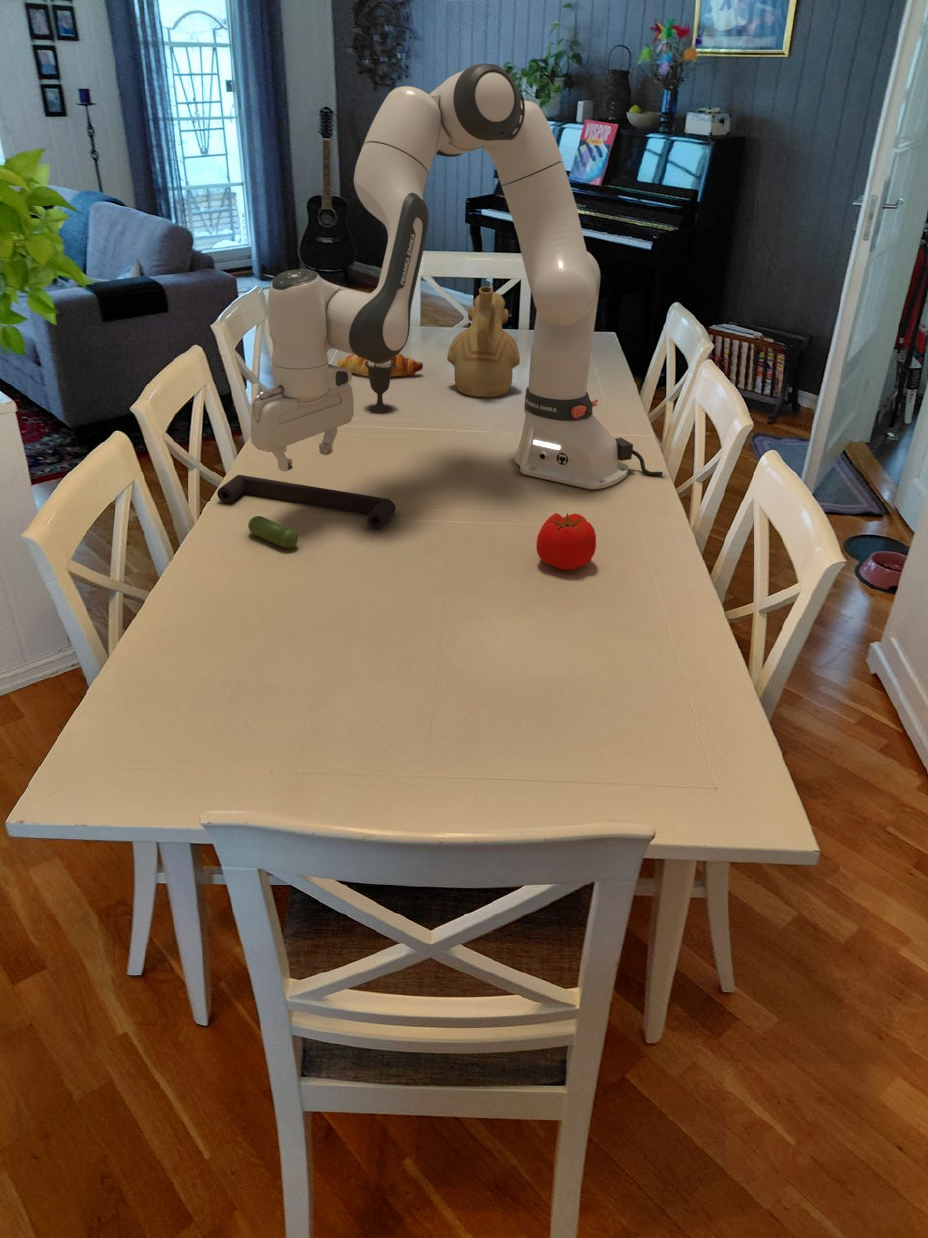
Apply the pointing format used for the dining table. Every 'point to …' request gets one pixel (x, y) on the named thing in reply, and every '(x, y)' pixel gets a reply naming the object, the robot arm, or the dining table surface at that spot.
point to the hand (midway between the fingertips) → (306, 461)
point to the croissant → (402, 364)
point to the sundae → (379, 382)
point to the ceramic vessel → (484, 349)
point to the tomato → (566, 541)
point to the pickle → (273, 532)
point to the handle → (310, 497)
